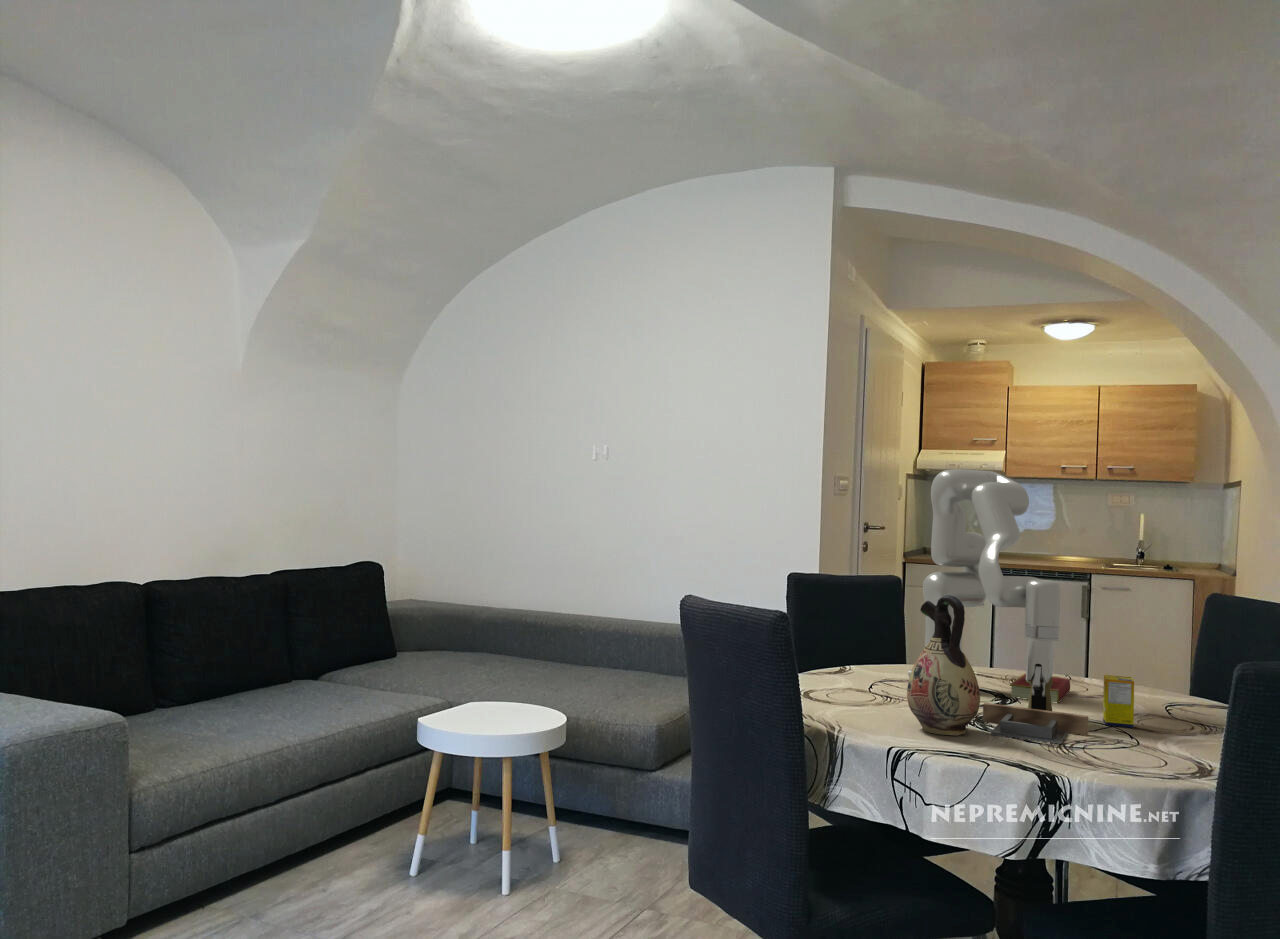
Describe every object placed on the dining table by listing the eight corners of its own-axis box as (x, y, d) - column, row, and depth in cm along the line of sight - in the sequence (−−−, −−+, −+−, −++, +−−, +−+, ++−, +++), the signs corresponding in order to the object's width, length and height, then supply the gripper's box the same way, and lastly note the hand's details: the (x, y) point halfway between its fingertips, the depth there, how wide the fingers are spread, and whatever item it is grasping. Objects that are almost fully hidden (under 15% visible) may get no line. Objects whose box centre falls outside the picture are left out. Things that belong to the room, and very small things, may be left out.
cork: (1021, 717, 234) (1022, 670, 234) (1045, 717, 234) (1046, 671, 235) (1033, 723, 228) (1034, 675, 228) (1058, 723, 228) (1059, 675, 229)
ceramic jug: (891, 724, 221) (895, 590, 221) (948, 721, 226) (952, 590, 227) (939, 743, 205) (943, 598, 206) (999, 739, 210) (1003, 598, 211)
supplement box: (1130, 723, 232) (1131, 676, 232) (1133, 728, 226) (1134, 680, 227) (1102, 720, 234) (1103, 674, 234) (1105, 725, 228) (1106, 678, 229)
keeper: (990, 734, 214) (991, 720, 214) (1000, 724, 225) (1000, 711, 225) (1060, 744, 208) (1060, 729, 208) (1066, 733, 218) (1067, 719, 218)
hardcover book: (1070, 693, 270) (1070, 677, 271) (1058, 705, 252) (1059, 689, 253) (1023, 687, 277) (1024, 672, 277) (1009, 699, 259) (1009, 683, 259)
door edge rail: (982, 721, 228) (983, 703, 228) (984, 719, 229) (984, 702, 230) (1087, 735, 217) (1087, 717, 217) (1087, 734, 219) (1088, 715, 219)
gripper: (1030, 627, 241) (1028, 703, 240) (1019, 634, 226) (1017, 715, 226) (1063, 630, 237) (1061, 707, 237) (1054, 638, 222) (1052, 720, 222)
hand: (1039, 710), depth 231 cm, fingers closed on cork, 4 cm apart
